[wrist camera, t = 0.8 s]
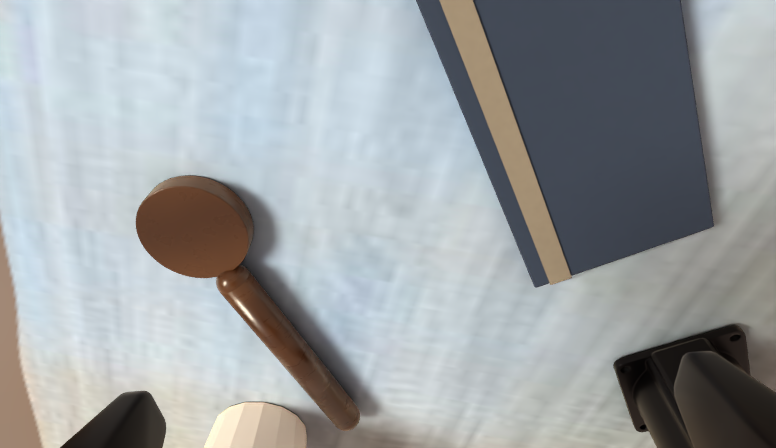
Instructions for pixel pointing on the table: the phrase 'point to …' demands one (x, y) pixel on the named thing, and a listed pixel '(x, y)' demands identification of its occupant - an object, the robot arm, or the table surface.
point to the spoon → (233, 275)
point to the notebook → (579, 123)
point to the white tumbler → (257, 428)
